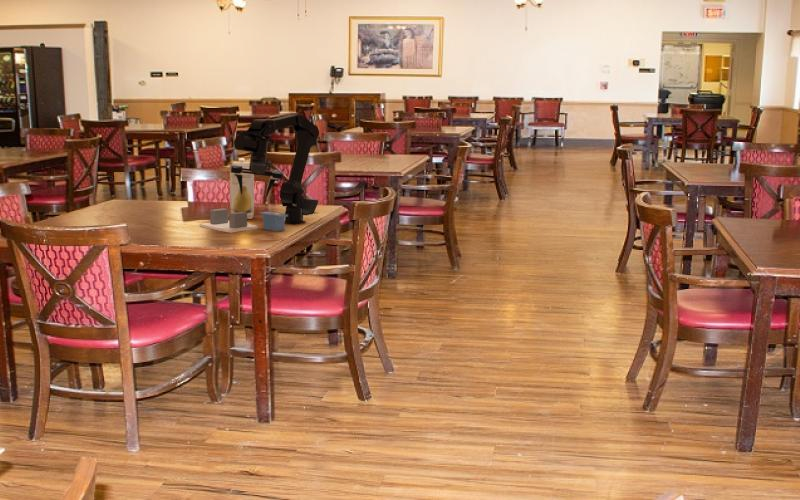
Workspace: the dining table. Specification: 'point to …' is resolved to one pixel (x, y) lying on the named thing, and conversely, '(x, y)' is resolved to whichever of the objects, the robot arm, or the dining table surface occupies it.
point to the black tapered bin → (310, 206)
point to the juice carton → (245, 199)
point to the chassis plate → (228, 221)
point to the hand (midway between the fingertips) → (253, 195)
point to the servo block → (273, 221)
